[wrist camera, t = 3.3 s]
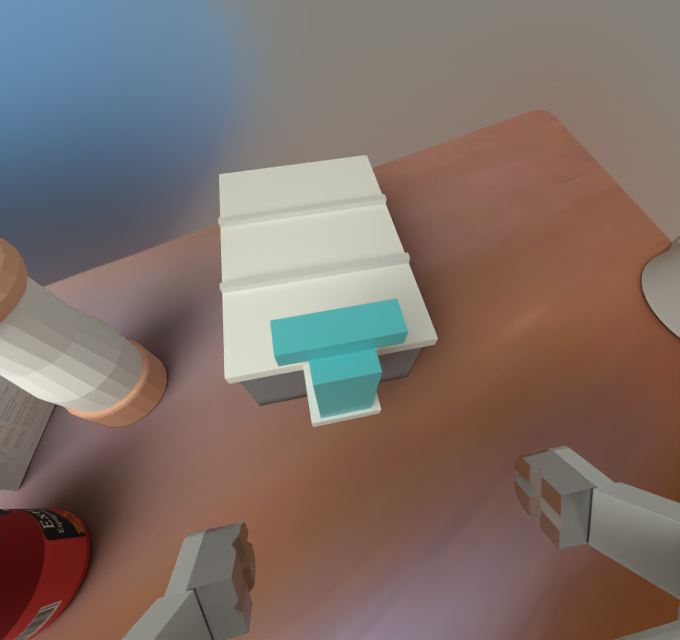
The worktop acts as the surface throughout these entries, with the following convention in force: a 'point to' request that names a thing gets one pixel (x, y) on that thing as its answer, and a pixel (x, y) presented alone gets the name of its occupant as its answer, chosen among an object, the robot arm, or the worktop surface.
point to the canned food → (39, 568)
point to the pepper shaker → (71, 353)
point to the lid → (316, 282)
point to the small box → (19, 431)
